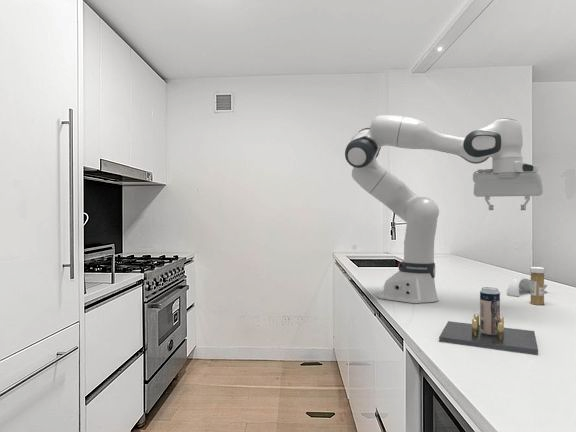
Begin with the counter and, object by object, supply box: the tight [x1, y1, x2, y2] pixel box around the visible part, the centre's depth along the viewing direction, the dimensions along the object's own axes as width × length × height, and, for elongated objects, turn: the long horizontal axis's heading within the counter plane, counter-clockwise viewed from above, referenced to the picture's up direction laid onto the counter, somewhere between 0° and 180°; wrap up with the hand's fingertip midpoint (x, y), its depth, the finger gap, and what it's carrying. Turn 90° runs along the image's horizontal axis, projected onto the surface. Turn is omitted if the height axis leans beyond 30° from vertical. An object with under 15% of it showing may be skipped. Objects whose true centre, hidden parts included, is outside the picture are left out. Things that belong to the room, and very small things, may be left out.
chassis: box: [438, 314, 539, 356], centre depth 113 cm, size 22×18×5 cm
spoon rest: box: [506, 276, 548, 298], centre depth 177 cm, size 24×12×7 cm, turn 130°
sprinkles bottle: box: [529, 266, 546, 306], centre depth 156 cm, size 5×5×13 cm
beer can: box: [479, 286, 501, 336], centre depth 112 cm, size 5×5×12 cm
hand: (506, 210), depth 141 cm, fingers open, 8 cm apart
